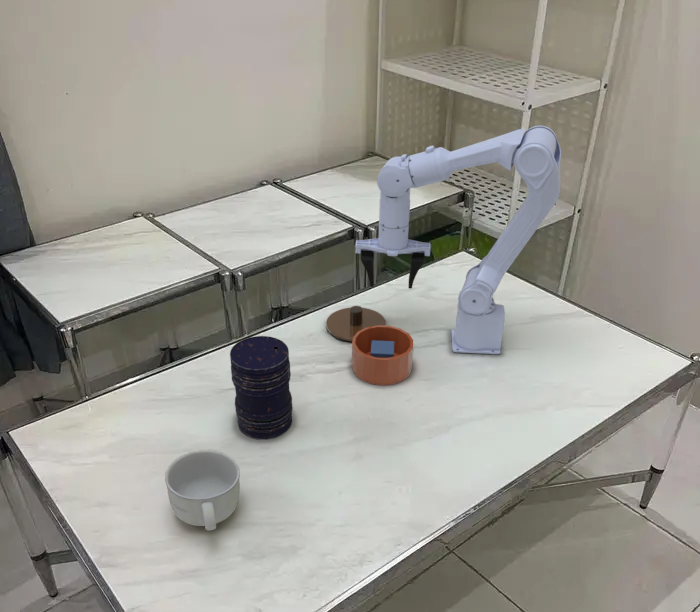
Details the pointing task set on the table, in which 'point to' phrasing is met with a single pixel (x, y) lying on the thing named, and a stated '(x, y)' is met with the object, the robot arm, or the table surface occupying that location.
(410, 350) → the bowl
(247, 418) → the storage jar
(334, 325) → the lid
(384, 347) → the block
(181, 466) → the teacup
